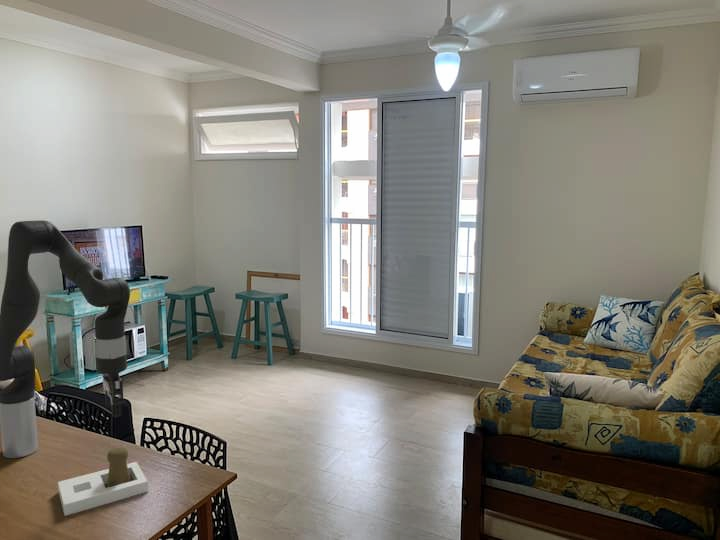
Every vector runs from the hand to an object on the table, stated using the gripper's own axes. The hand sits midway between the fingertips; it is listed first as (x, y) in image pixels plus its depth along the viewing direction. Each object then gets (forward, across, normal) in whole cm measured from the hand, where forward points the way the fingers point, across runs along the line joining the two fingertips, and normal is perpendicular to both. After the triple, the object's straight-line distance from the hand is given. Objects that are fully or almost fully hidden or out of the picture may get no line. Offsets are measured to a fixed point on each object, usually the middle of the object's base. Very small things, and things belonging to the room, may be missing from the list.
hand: (113, 411), depth 143 cm
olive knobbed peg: (+22, 0, 0) cm, 22 cm away
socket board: (+22, +1, -4) cm, 22 cm away
